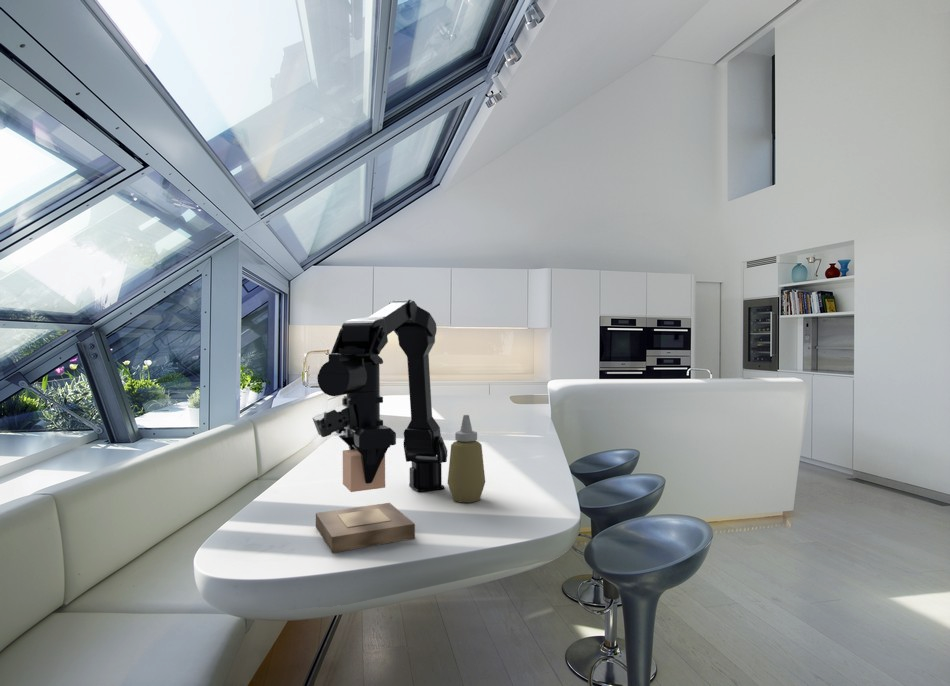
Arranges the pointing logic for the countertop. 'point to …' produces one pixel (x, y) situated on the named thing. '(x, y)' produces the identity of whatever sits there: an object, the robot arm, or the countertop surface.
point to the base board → (363, 526)
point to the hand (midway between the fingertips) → (363, 479)
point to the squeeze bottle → (466, 465)
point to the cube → (360, 473)
